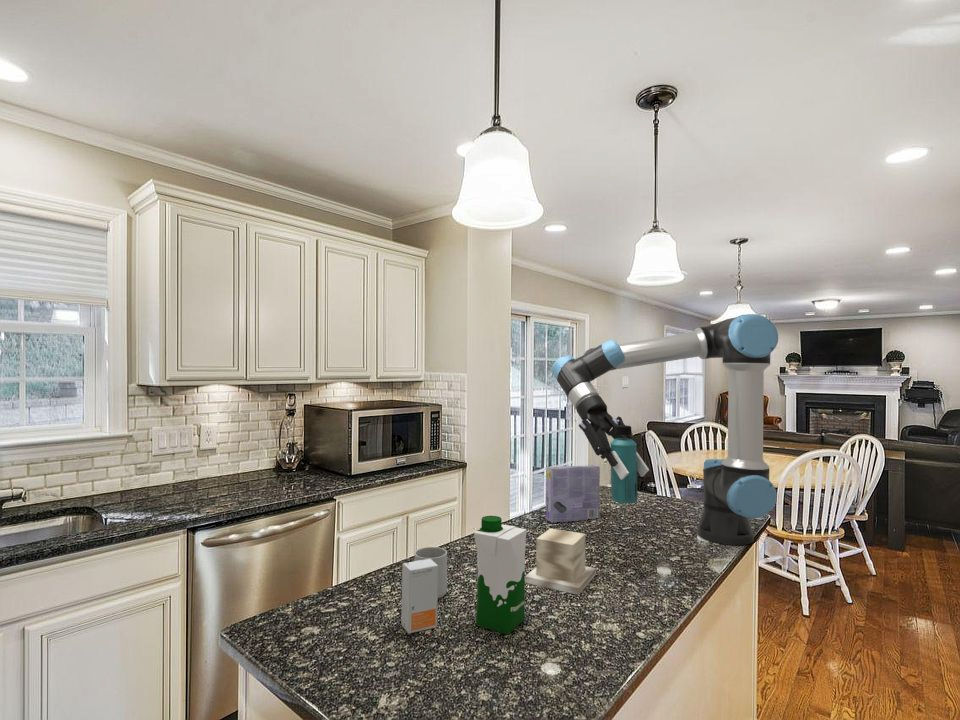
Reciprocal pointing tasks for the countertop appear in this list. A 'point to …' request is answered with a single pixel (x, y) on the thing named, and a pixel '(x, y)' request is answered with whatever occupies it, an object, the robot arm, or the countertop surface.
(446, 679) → the countertop surface
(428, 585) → the skincare box
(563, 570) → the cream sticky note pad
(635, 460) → the beverage bottle
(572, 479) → the cake pan box
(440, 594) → the cup
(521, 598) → the milk carton
